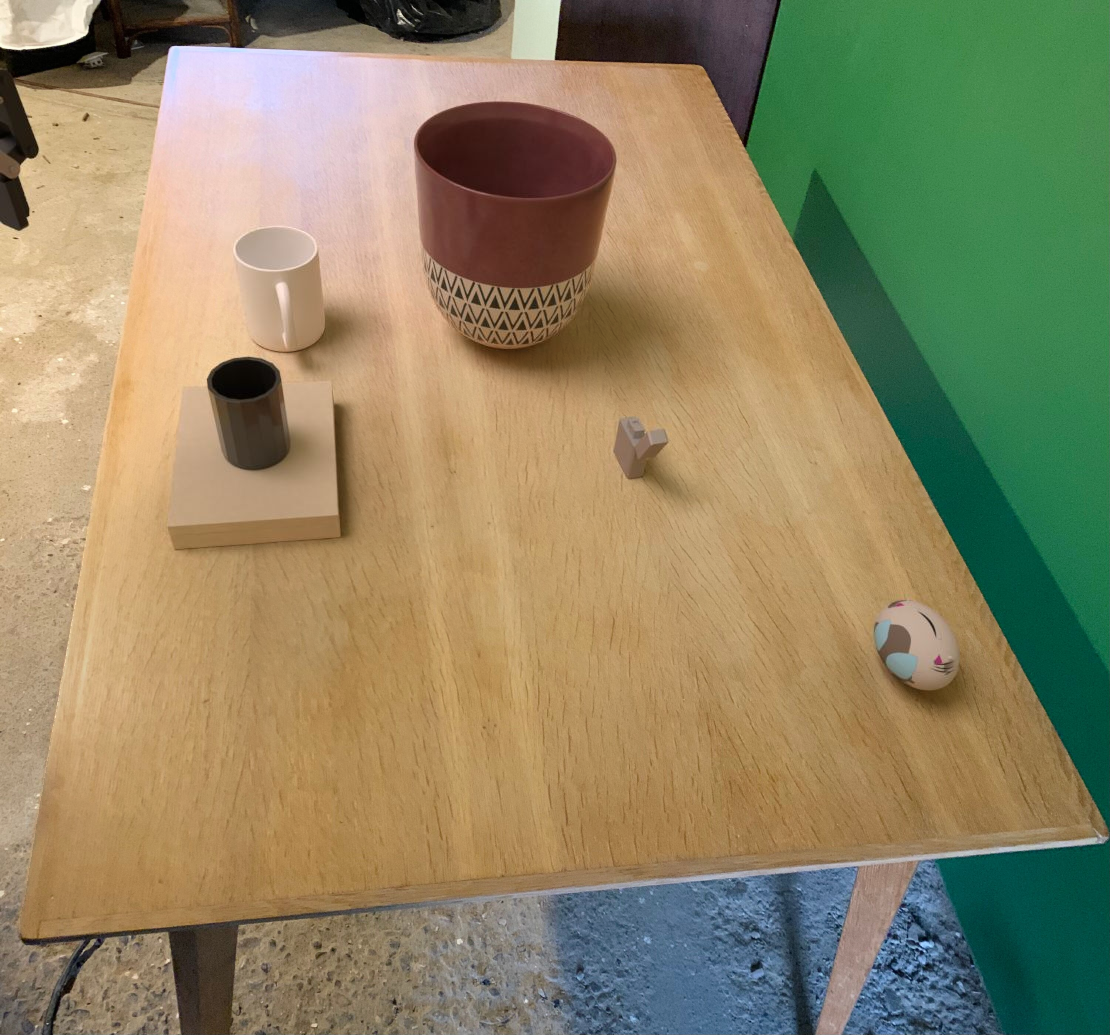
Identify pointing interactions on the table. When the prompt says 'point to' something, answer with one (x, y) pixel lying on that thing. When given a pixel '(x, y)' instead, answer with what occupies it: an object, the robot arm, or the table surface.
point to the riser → (255, 477)
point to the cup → (280, 287)
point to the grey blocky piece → (636, 446)
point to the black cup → (249, 412)
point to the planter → (510, 217)
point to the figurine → (916, 645)
